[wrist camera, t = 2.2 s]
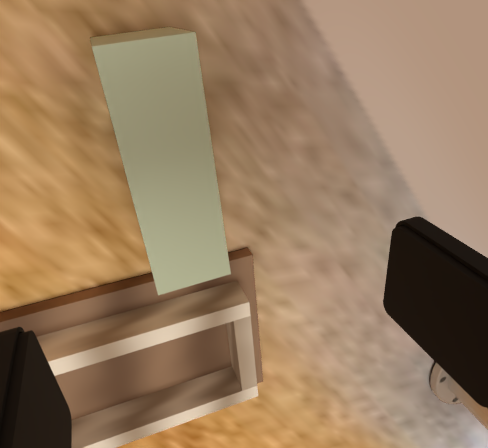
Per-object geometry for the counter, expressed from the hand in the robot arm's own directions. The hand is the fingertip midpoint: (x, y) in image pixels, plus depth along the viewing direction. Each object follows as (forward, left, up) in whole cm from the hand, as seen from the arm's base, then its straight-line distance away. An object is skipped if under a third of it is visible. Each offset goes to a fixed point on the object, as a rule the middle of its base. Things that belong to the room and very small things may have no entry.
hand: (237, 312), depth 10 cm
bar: (0, 0, -16) cm, 16 cm away
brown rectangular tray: (+5, +15, -16) cm, 22 cm away
